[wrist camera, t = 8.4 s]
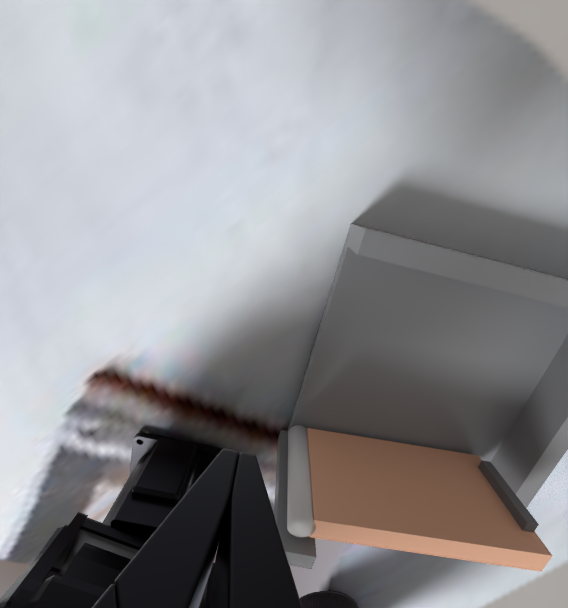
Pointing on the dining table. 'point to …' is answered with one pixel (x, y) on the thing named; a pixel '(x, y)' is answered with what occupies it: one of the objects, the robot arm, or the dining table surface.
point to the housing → (437, 362)
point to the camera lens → (327, 600)
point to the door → (407, 500)
